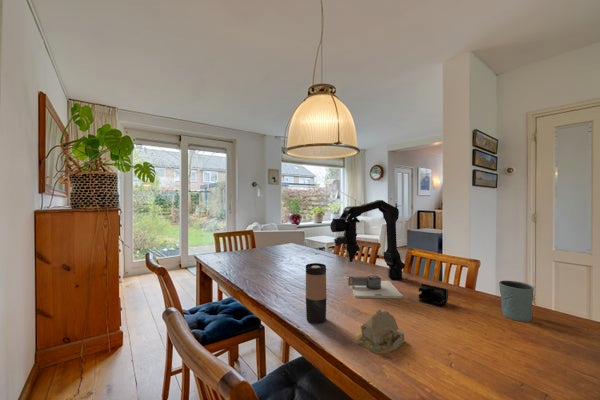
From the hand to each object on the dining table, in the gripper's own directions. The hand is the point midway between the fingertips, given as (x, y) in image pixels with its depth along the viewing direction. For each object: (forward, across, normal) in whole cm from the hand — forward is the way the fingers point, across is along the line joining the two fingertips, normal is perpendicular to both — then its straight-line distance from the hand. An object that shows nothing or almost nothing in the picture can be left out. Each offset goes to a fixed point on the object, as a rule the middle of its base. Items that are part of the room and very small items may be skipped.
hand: (350, 261), depth 133 cm
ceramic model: (+12, +52, +2) cm, 54 cm away
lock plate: (+12, +6, +10) cm, 17 cm away
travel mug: (+12, +38, -18) cm, 44 cm away
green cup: (+12, +32, +57) cm, 67 cm away
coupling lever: (+11, +6, +6) cm, 14 cm away
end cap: (+12, +20, +32) cm, 40 cm away
